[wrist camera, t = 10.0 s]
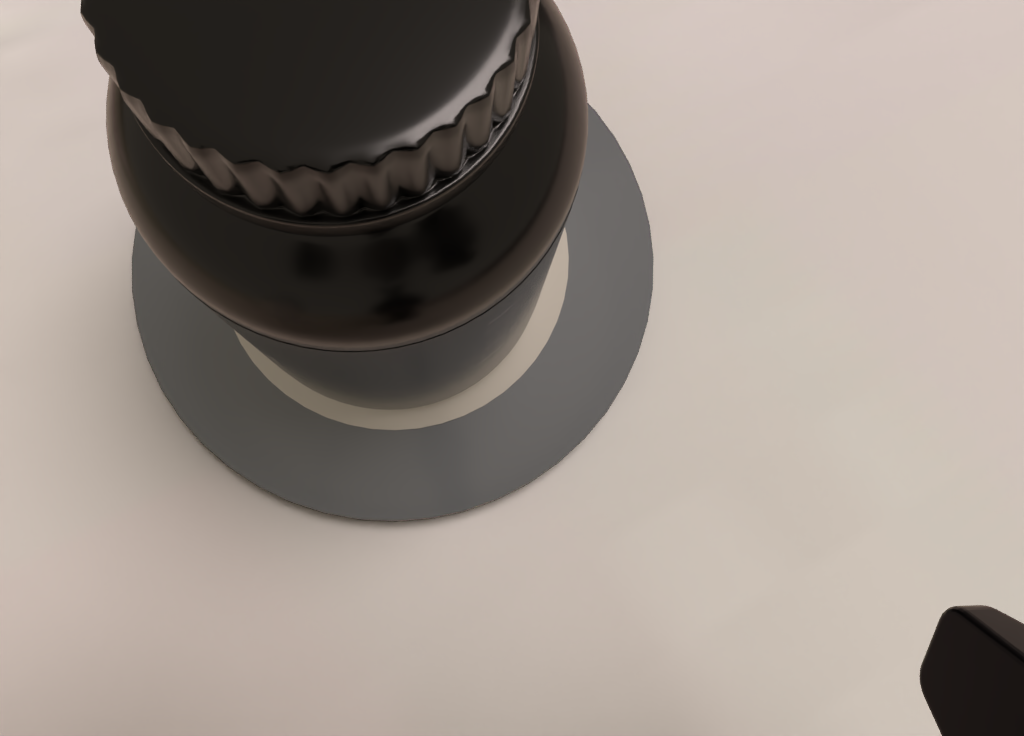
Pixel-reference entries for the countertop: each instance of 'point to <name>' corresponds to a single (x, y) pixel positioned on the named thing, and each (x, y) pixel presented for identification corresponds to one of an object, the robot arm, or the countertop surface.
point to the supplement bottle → (351, 175)
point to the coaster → (435, 427)
